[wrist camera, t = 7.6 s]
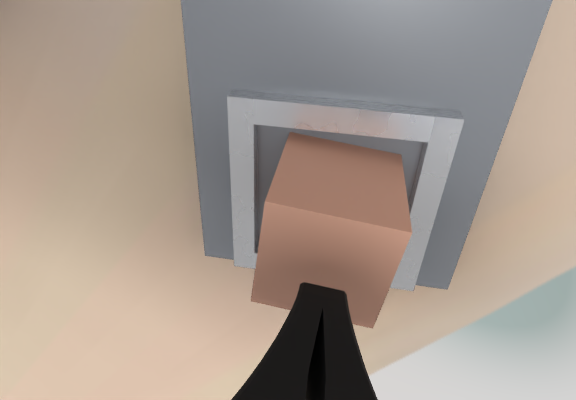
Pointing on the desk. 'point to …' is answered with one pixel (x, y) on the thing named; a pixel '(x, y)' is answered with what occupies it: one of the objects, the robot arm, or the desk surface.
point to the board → (360, 89)
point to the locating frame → (348, 120)
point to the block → (333, 225)
